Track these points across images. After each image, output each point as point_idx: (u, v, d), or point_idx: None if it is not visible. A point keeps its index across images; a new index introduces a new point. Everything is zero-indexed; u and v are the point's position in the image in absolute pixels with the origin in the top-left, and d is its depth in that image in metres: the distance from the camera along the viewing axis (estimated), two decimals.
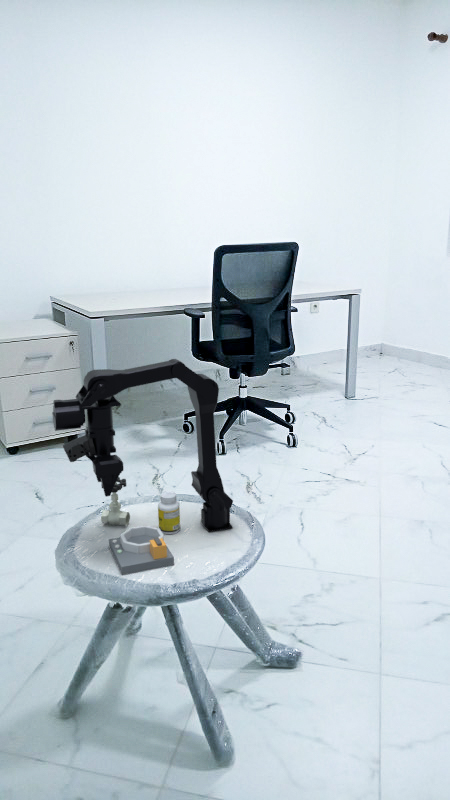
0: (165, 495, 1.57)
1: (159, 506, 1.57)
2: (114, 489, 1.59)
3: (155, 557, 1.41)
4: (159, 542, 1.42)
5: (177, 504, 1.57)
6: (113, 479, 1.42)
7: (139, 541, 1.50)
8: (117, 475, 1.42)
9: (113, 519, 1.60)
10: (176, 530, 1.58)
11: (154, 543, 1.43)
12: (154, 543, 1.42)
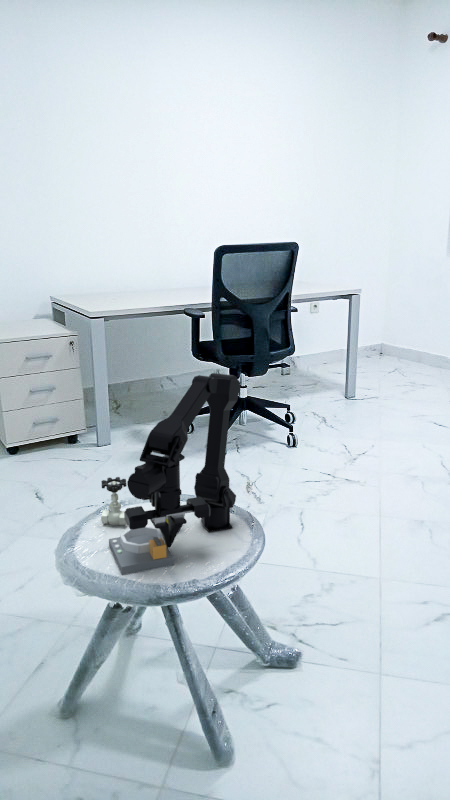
0: None
1: None
2: (114, 489, 1.59)
3: (154, 557, 1.41)
4: (158, 542, 1.42)
5: None
6: None
7: (139, 541, 1.50)
8: None
9: (113, 519, 1.60)
10: None
11: (154, 543, 1.43)
12: (153, 543, 1.42)
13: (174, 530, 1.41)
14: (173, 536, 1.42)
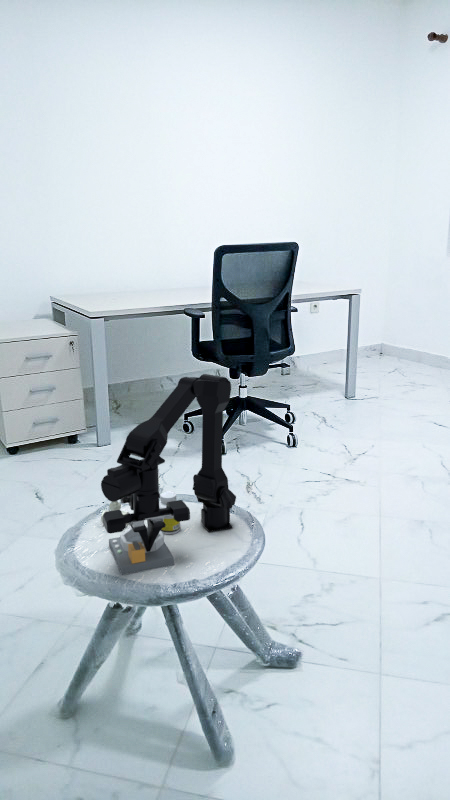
0: (165, 495, 1.57)
1: (159, 506, 1.57)
2: None
3: (133, 561, 1.40)
4: (137, 546, 1.40)
5: None
6: None
7: (139, 541, 1.50)
8: None
9: None
10: (176, 530, 1.58)
11: (133, 547, 1.41)
12: (132, 547, 1.40)
13: (153, 534, 1.39)
14: (152, 540, 1.40)
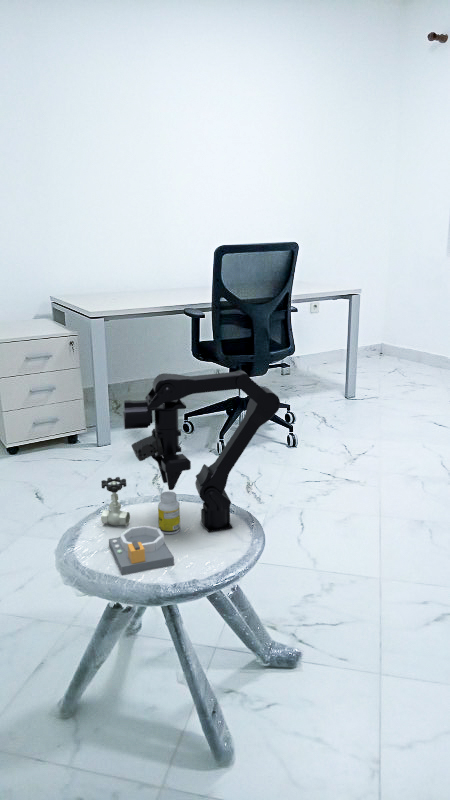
0: (165, 495, 1.57)
1: (159, 506, 1.57)
2: (114, 489, 1.59)
3: (133, 561, 1.40)
4: (137, 546, 1.40)
5: (177, 504, 1.57)
6: (177, 474, 1.52)
7: (139, 541, 1.50)
8: (181, 470, 1.52)
9: (113, 519, 1.60)
10: (176, 530, 1.58)
11: (132, 547, 1.41)
12: (132, 547, 1.40)
13: None
14: None
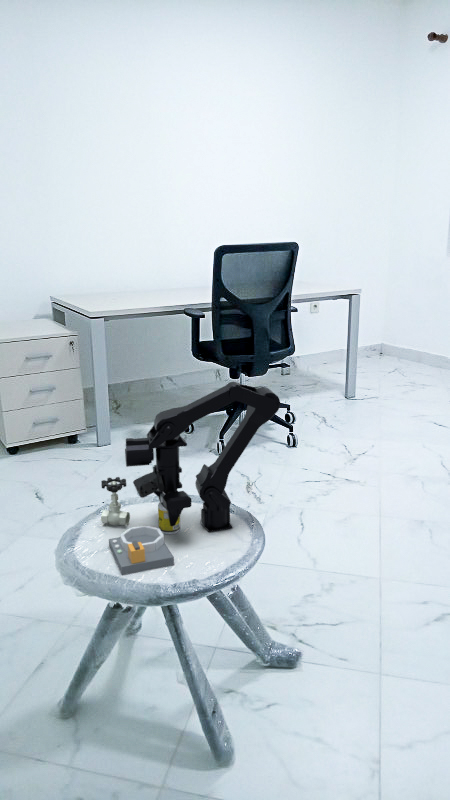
0: None
1: (159, 506, 1.57)
2: (114, 489, 1.59)
3: (133, 561, 1.40)
4: (137, 546, 1.40)
5: None
6: (178, 510, 1.55)
7: (139, 541, 1.50)
8: None
9: (113, 519, 1.60)
10: (176, 530, 1.58)
11: (132, 547, 1.41)
12: (132, 547, 1.40)
13: None
14: None
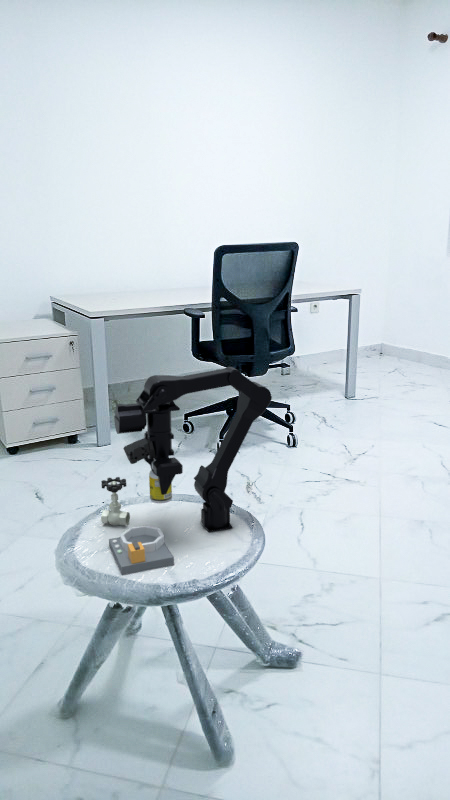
0: None
1: (150, 474, 1.52)
2: (114, 489, 1.59)
3: (133, 561, 1.40)
4: (137, 546, 1.40)
5: None
6: (170, 478, 1.49)
7: (139, 541, 1.50)
8: (174, 474, 1.49)
9: (113, 519, 1.60)
10: (167, 499, 1.53)
11: (132, 547, 1.41)
12: (132, 547, 1.40)
13: None
14: None
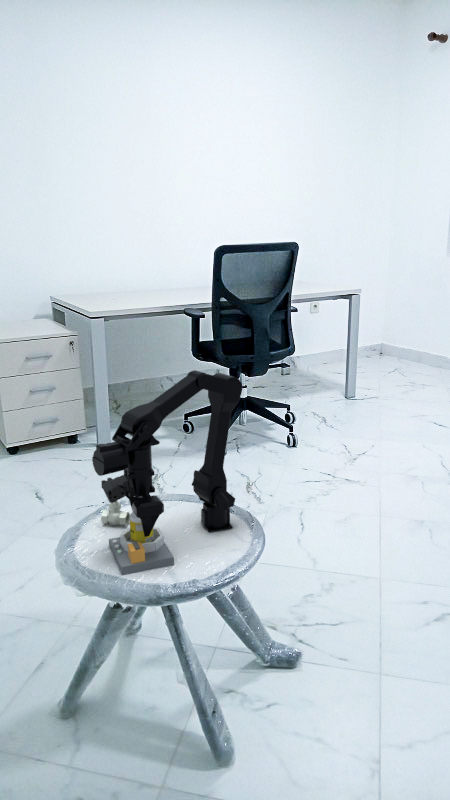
0: None
1: (131, 517, 1.46)
2: None
3: (133, 561, 1.40)
4: (137, 546, 1.40)
5: None
6: (153, 520, 1.42)
7: None
8: (157, 516, 1.42)
9: (113, 519, 1.60)
10: None
11: (132, 547, 1.41)
12: (132, 547, 1.40)
13: None
14: None
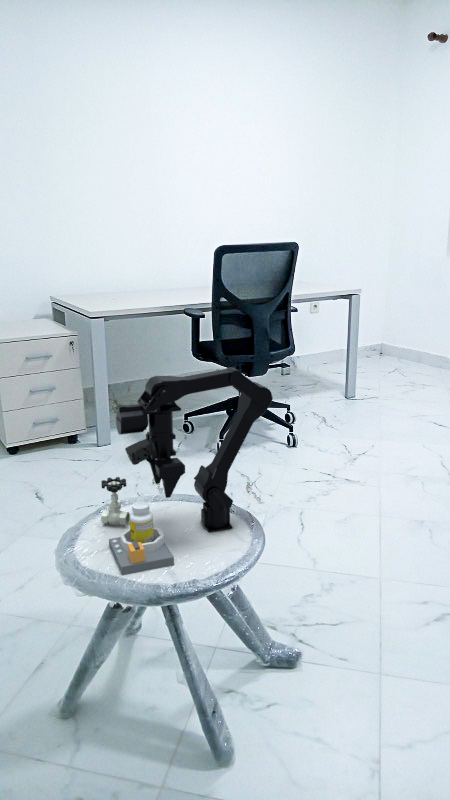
0: (137, 505, 1.46)
1: (131, 517, 1.46)
2: (114, 489, 1.59)
3: (133, 561, 1.40)
4: (137, 546, 1.40)
5: (150, 515, 1.46)
6: (174, 481, 1.48)
7: None
8: (178, 477, 1.48)
9: (113, 519, 1.60)
10: None
11: (132, 547, 1.41)
12: (132, 547, 1.40)
13: None
14: None
